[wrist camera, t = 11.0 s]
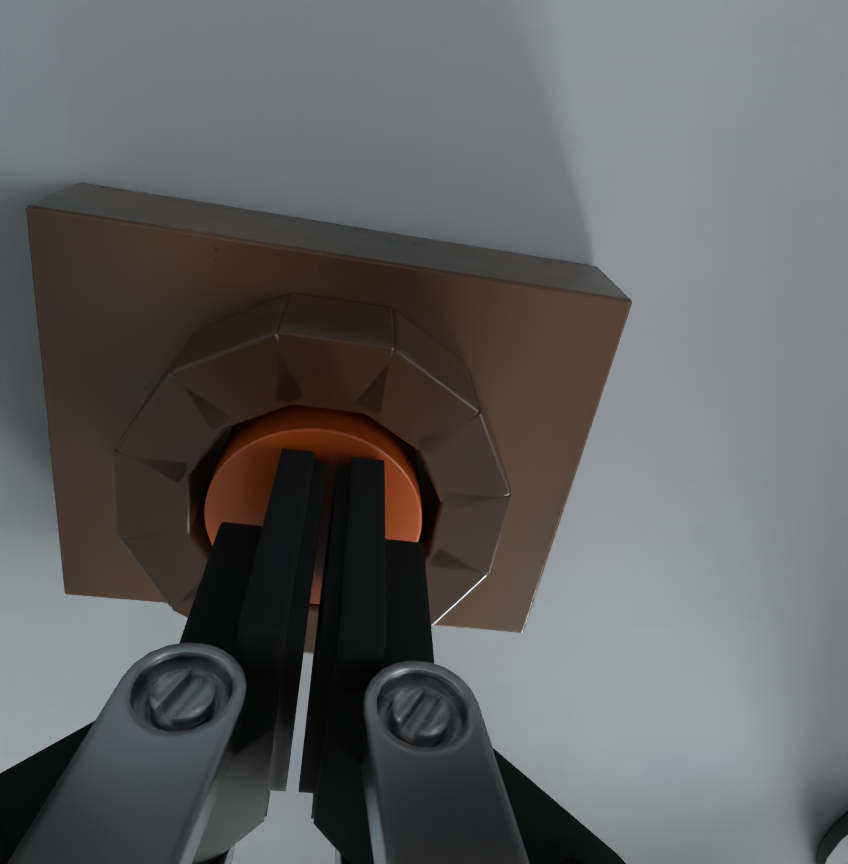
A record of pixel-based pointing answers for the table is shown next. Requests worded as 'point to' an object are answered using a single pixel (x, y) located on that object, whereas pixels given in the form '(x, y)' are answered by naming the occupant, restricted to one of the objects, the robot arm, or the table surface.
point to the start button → (332, 442)
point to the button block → (307, 382)
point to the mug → (835, 844)
